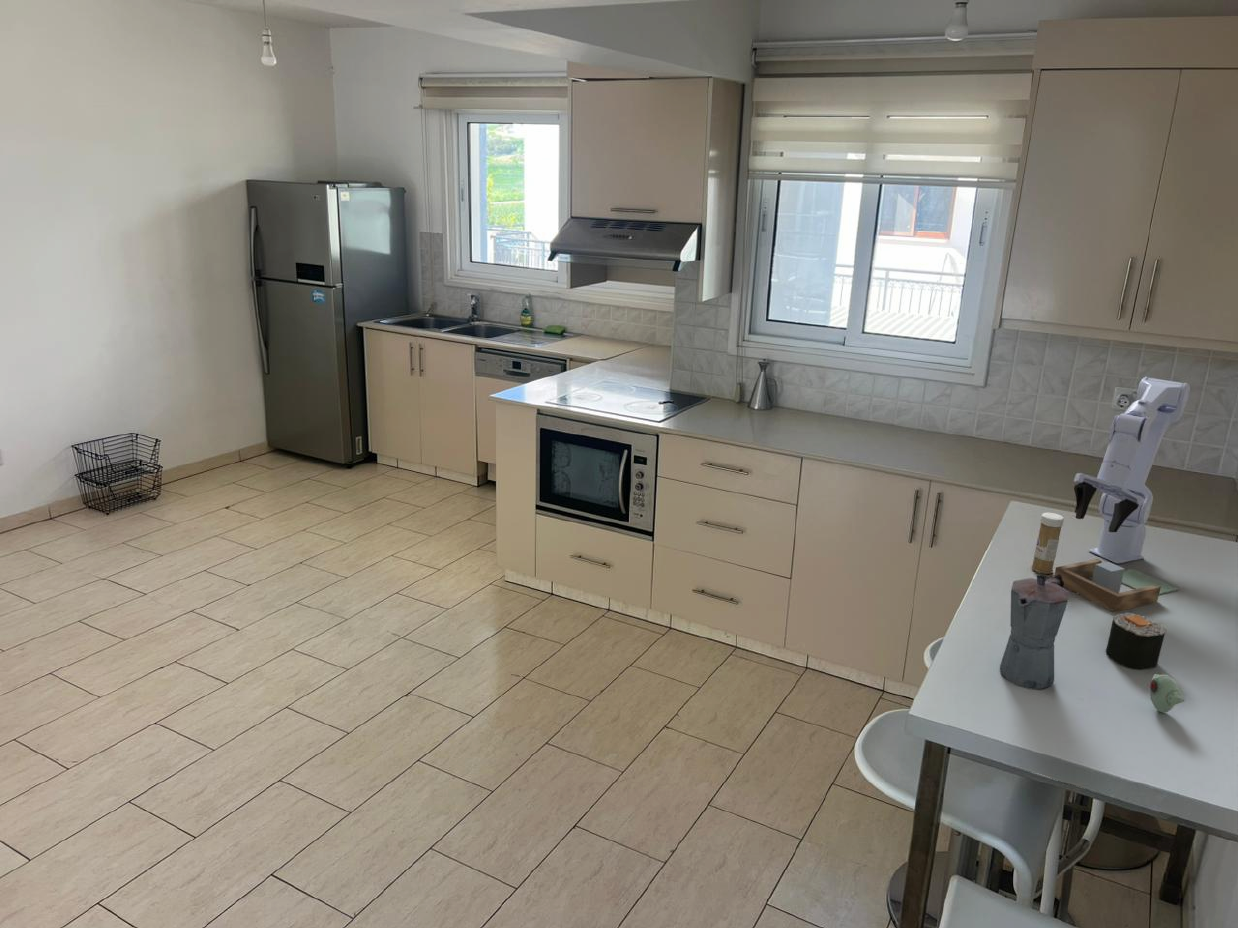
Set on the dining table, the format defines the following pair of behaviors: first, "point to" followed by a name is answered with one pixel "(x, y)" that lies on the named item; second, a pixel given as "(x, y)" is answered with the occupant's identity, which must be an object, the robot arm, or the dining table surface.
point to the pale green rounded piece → (1164, 693)
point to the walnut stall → (1101, 595)
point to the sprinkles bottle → (1047, 543)
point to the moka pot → (1033, 631)
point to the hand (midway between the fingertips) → (1095, 525)
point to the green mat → (1144, 581)
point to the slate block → (1108, 576)
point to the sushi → (1135, 641)
